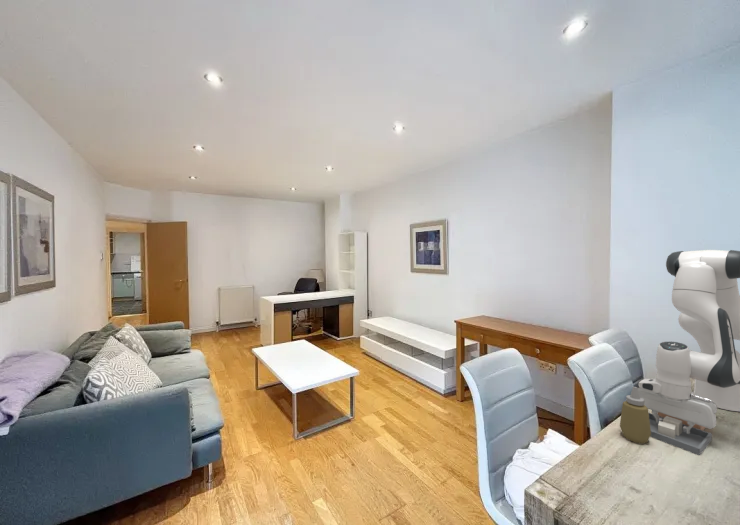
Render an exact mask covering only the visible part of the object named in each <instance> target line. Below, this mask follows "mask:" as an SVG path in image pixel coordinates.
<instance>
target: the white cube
mask: <svg viewBox="0 0 740 525" xmlns="http://www.w3.org/2000/svg"><path fill="white" fill-rule="evenodd" d="M663 422H666V423H669V424H673V425H676V435H677V436H679V435H680V434H681V433H682V421H681V420H678V419H675V418H671V417H668V416H666V417H665V418H664V419H663Z"/></svg>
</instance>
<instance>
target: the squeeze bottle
mask: <svg viewBox="0 0 740 525" xmlns="http://www.w3.org/2000/svg"><path fill="white" fill-rule="evenodd" d="M638 388H639V387H637V386H633V387H632V389H631V392H630V394H627V395H626V396H625V398H626V399H625V401H623V402H622V406H621V414H620V420H619V427H620V430H621V433H622V435H623V437H624V438H625V439H627V440H629V441H630V442H633V443H636V444H642V445H643V444H647V443H648V442H649V440H650V438H651V437H650V436H651V429H650V420H649V413H650V412H649V409H648V408H647V407H646V406H645V405H644V399H643V398H641V397H640V395H639V391H638Z"/></svg>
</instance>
